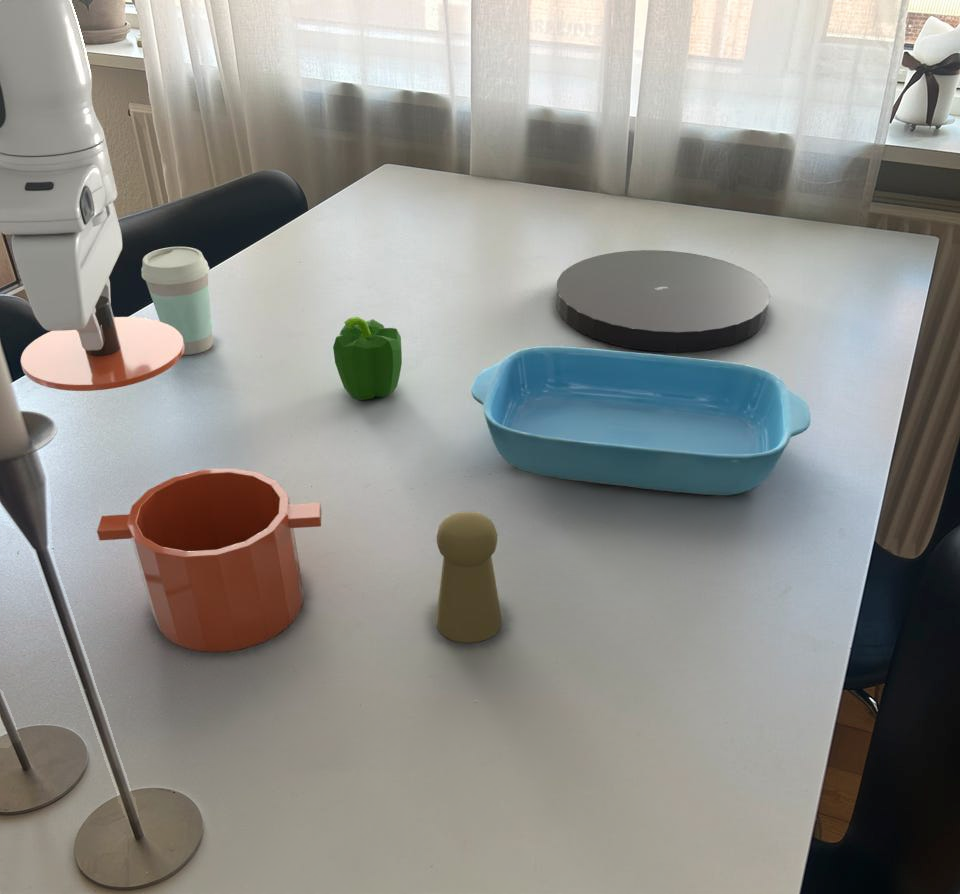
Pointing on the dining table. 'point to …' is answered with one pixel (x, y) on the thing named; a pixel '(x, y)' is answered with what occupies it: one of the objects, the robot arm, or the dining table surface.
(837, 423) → the dining table surface
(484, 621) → the olive pawn piece
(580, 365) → the casserole dish
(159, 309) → the coffee cup
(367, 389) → the bell pepper
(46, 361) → the pot lid
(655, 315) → the disc
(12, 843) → the dining table surface
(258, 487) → the pot
